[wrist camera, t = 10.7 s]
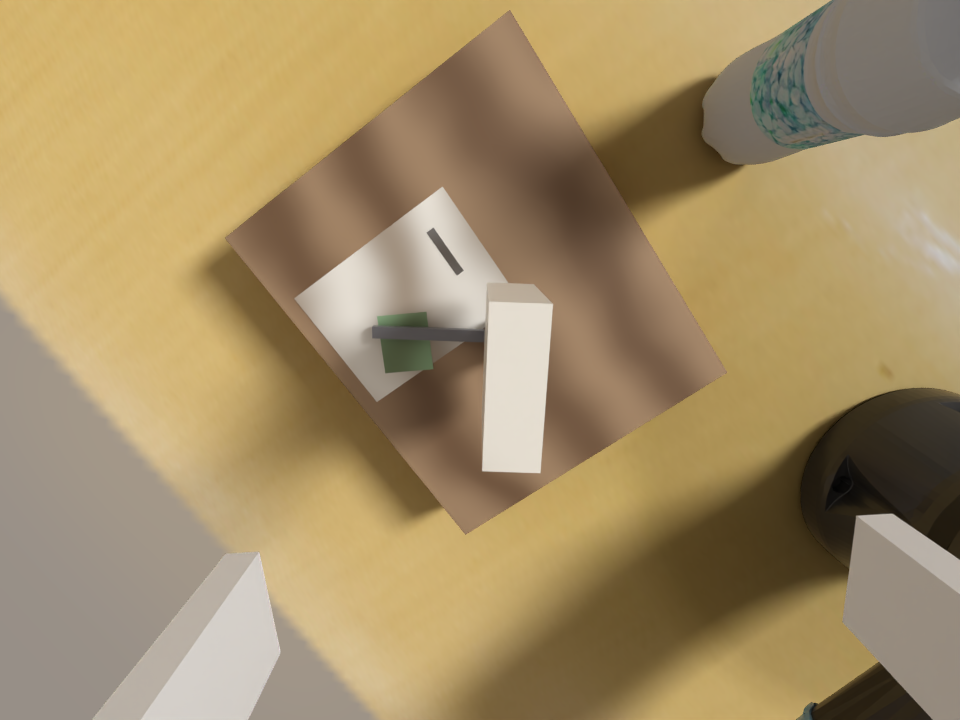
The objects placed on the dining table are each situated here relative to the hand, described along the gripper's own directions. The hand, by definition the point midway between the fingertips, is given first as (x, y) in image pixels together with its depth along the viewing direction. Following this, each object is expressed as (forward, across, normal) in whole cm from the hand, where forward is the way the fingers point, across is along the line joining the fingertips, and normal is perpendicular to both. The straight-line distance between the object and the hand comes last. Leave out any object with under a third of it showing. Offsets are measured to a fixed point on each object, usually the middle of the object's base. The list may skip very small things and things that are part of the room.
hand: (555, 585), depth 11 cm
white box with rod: (+20, -4, +2) cm, 20 cm away
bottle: (+25, +16, +14) cm, 33 cm away
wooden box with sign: (+25, -1, +3) cm, 25 cm away
